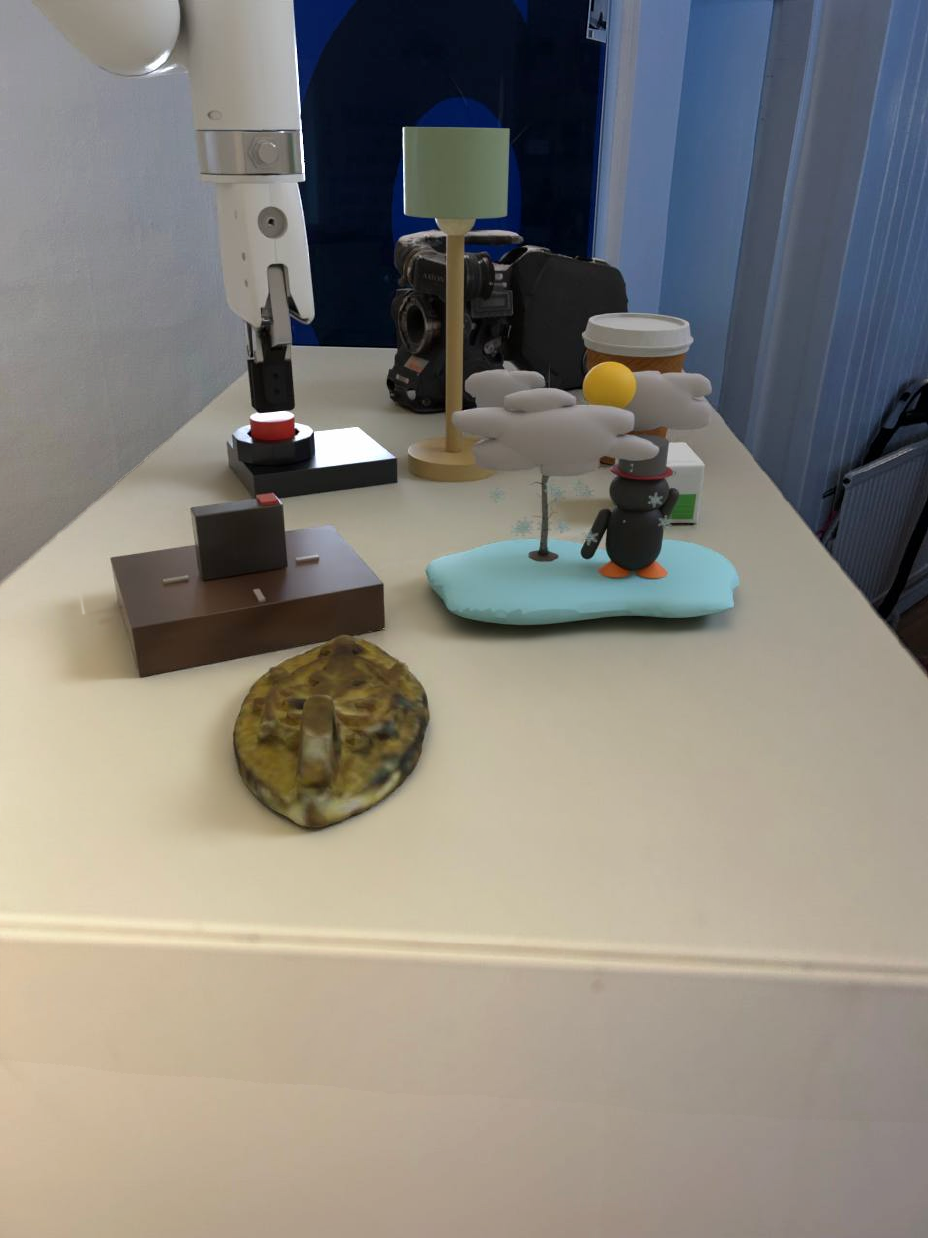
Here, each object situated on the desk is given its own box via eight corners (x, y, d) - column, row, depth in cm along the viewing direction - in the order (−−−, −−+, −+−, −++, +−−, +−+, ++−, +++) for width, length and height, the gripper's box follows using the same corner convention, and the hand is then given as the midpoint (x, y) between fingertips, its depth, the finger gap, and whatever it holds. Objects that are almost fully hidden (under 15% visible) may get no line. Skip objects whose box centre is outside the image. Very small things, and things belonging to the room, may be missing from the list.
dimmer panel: (139, 677, 50) (130, 625, 49) (117, 601, 58) (109, 554, 57) (385, 629, 55) (383, 581, 54) (334, 565, 63) (331, 521, 62)
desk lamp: (429, 487, 78) (427, 126, 65) (394, 460, 84) (387, 126, 72) (514, 475, 81) (528, 128, 68) (475, 449, 87) (481, 128, 75)
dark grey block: (203, 581, 54) (194, 512, 52) (198, 570, 55) (189, 502, 53) (288, 567, 56) (283, 500, 54) (281, 557, 57) (275, 491, 55)
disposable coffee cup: (608, 478, 80) (621, 334, 75) (555, 447, 88) (563, 315, 83) (700, 465, 84) (718, 327, 78) (641, 436, 91) (654, 309, 86)
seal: (261, 673, 53) (217, 852, 39) (243, 598, 51) (191, 760, 37) (425, 653, 53) (437, 824, 40) (415, 577, 51) (424, 731, 37)
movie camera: (424, 428, 90) (425, 231, 83) (349, 395, 104) (345, 225, 97) (670, 404, 105) (689, 234, 98) (575, 378, 119) (586, 229, 112)
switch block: (252, 502, 74) (247, 453, 72) (225, 465, 82) (221, 420, 80) (397, 483, 78) (396, 436, 77) (359, 450, 87) (357, 407, 85)
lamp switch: (257, 445, 75) (255, 424, 75) (247, 433, 78) (245, 412, 77) (300, 440, 77) (299, 419, 76) (289, 428, 80) (287, 408, 79)
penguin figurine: (713, 562, 65) (747, 337, 58) (765, 636, 55) (813, 377, 48) (424, 565, 64) (422, 336, 57) (427, 640, 54) (425, 377, 47)
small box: (625, 526, 70) (631, 463, 68) (610, 499, 76) (615, 440, 73) (699, 525, 71) (708, 463, 69) (679, 499, 76) (686, 440, 74)
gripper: (332, 162, 63) (346, 428, 72) (276, 156, 75) (293, 384, 84) (220, 162, 61) (249, 439, 69) (180, 156, 73) (209, 393, 81)
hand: (273, 408), depth 76 cm, fingers closed
